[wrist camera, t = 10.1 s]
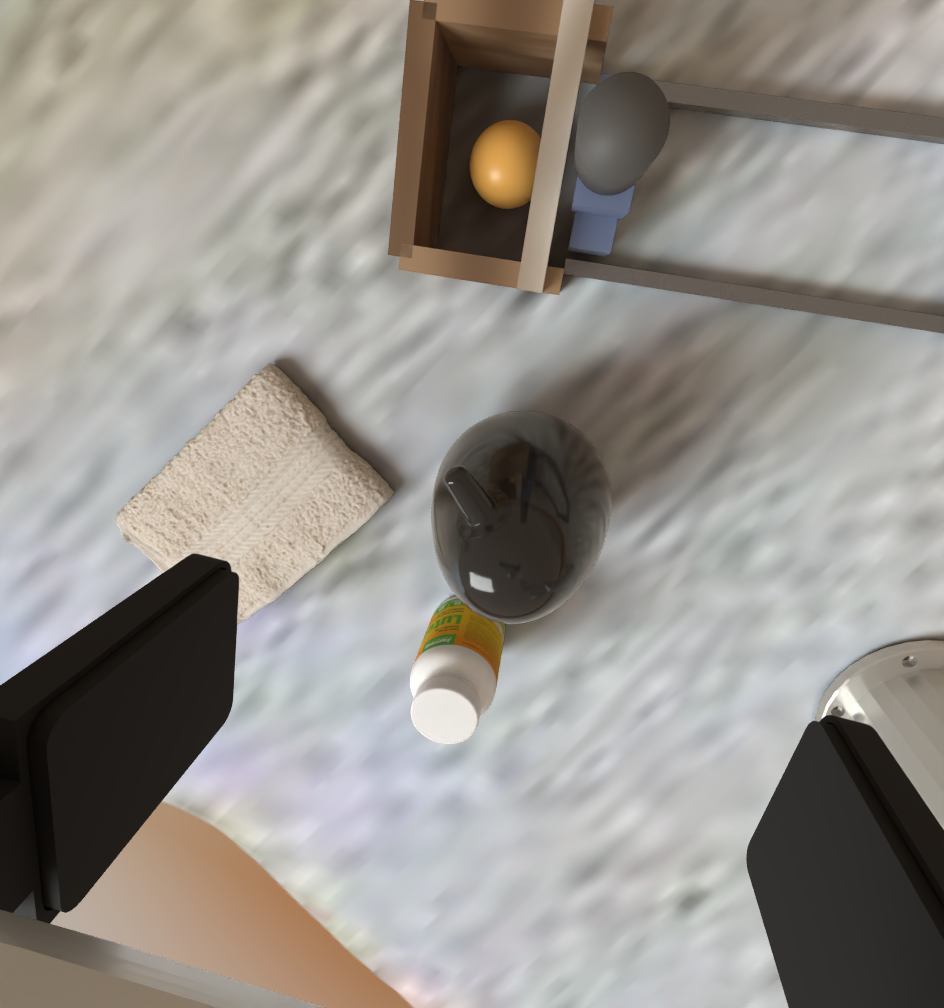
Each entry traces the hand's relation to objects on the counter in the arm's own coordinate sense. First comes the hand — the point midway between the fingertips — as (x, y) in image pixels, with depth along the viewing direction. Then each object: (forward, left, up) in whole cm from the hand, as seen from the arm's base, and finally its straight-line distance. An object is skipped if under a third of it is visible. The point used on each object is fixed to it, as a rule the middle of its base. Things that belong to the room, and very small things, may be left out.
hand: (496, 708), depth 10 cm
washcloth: (+19, +11, -30) cm, 37 cm away
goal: (+4, -12, -29) cm, 32 cm away
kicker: (-1, -12, -29) cm, 31 cm away
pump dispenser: (0, +5, -29) cm, 30 cm away
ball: (+4, -12, -27) cm, 30 cm away
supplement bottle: (+2, +17, -29) cm, 34 cm away
